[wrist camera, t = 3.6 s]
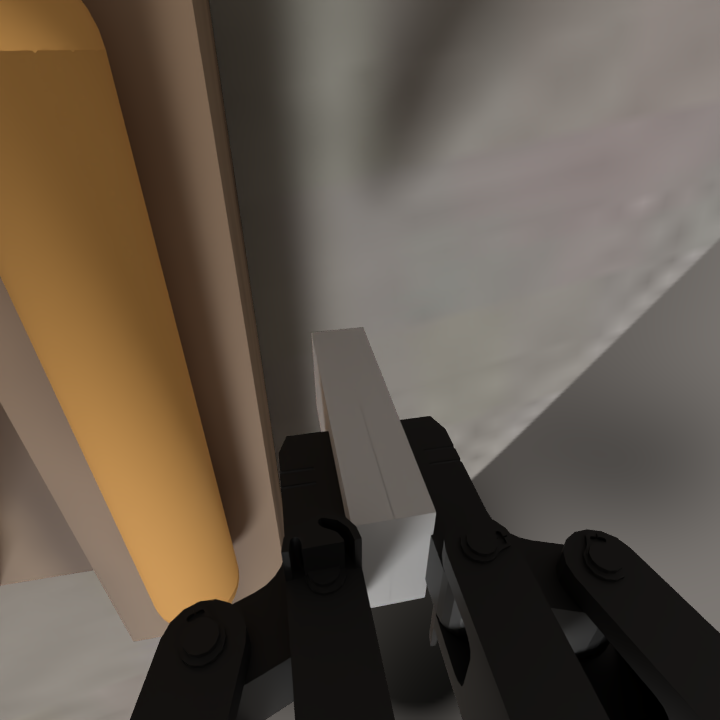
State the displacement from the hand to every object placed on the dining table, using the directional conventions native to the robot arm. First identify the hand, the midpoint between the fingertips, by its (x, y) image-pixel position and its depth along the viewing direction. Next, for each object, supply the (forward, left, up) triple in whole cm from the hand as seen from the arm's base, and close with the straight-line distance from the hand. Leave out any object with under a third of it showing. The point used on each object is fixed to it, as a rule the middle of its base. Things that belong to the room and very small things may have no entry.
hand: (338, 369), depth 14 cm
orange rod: (-6, 0, -1) cm, 6 cm away
